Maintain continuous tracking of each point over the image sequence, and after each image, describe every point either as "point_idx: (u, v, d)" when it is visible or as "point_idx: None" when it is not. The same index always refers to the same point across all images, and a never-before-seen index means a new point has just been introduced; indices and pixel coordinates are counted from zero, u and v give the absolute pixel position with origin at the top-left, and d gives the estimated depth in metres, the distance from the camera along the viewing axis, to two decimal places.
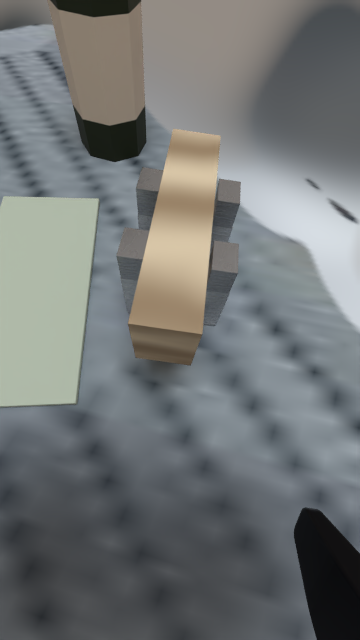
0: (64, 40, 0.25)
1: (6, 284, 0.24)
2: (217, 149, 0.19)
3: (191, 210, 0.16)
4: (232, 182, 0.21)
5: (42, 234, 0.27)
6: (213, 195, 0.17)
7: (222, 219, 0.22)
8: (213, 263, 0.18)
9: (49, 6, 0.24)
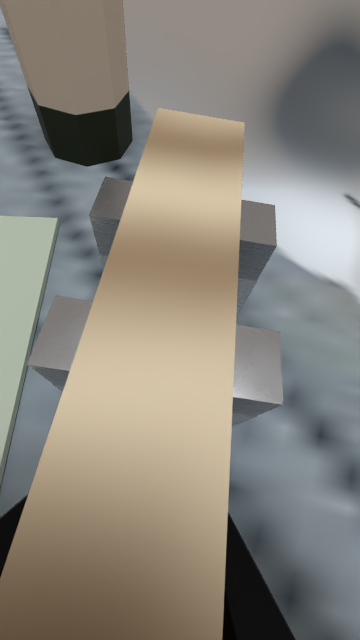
0: None
1: None
2: (240, 146, 0.10)
3: (187, 280, 0.07)
4: (261, 206, 0.12)
5: None
6: (236, 242, 0.08)
7: (241, 267, 0.13)
8: None
9: None
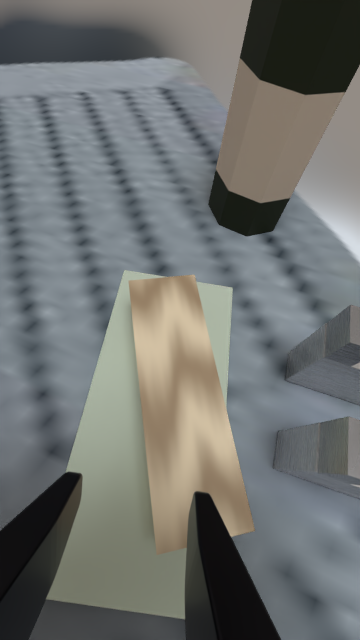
0: (248, 111, 0.20)
1: (125, 401, 0.19)
2: None
3: None
4: None
5: None
6: None
7: None
8: None
9: (239, 70, 0.20)
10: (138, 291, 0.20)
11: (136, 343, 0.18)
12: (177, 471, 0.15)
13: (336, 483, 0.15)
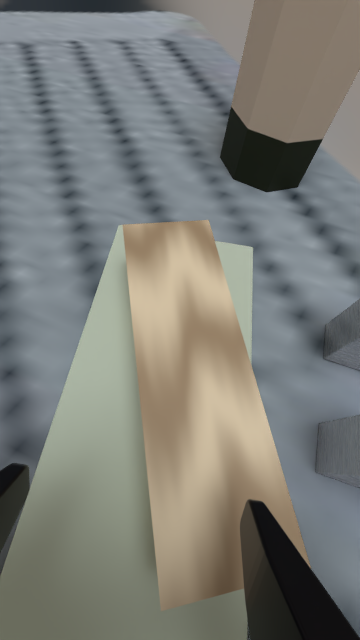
0: (281, 2, 0.15)
1: (118, 382, 0.15)
2: None
3: None
4: None
5: None
6: None
7: None
8: None
9: None
10: (135, 237, 0.15)
11: (132, 301, 0.13)
12: (191, 478, 0.10)
13: None
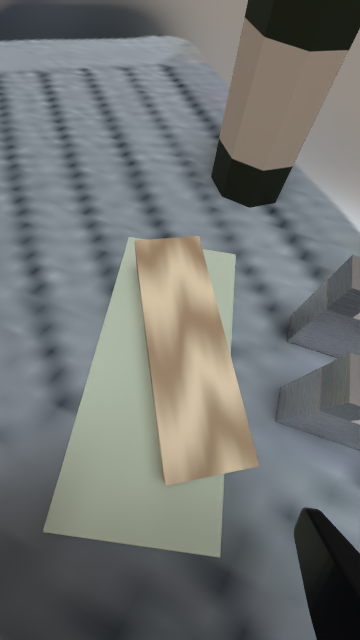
0: (253, 72, 0.20)
1: (132, 357, 0.20)
2: None
3: None
4: None
5: None
6: None
7: None
8: None
9: (243, 30, 0.20)
10: (144, 250, 0.20)
11: (143, 298, 0.18)
12: (184, 413, 0.15)
13: (337, 425, 0.16)
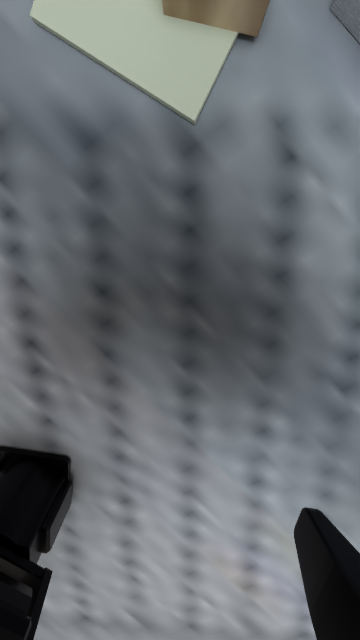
0: None
1: None
2: None
3: None
4: None
5: None
6: None
7: None
8: None
9: None
10: None
11: None
12: None
13: None
